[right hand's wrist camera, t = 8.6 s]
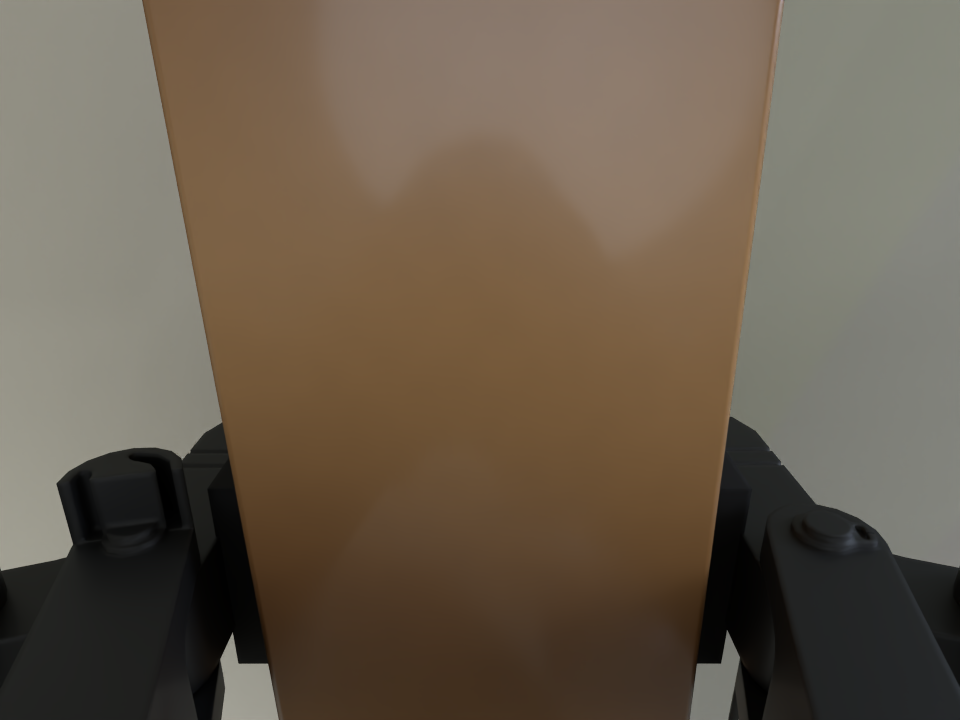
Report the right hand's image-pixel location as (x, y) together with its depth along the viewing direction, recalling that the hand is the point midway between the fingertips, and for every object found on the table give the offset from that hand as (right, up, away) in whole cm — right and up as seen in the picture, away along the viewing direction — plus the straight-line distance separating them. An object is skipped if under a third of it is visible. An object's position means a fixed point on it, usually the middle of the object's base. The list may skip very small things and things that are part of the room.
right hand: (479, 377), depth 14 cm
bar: (-1, +23, -9) cm, 25 cm away
